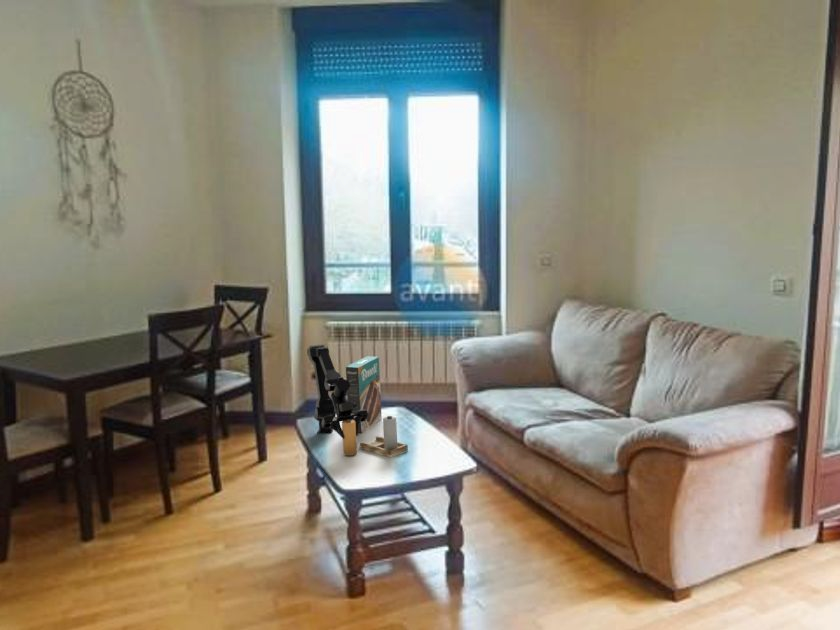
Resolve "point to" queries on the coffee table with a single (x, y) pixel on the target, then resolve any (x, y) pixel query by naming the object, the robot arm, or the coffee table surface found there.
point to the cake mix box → (365, 389)
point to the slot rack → (378, 447)
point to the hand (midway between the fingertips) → (350, 437)
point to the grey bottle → (390, 432)
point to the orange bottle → (349, 437)
